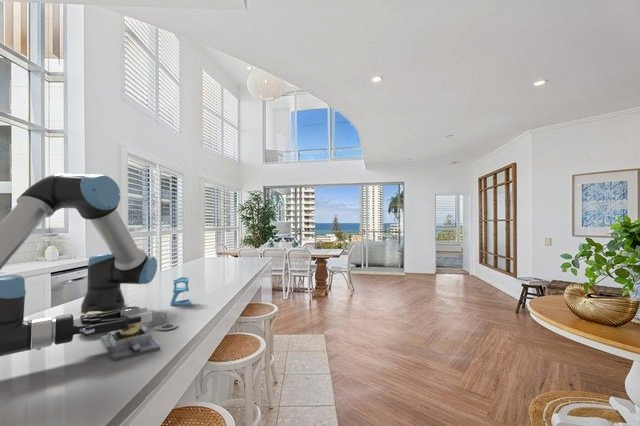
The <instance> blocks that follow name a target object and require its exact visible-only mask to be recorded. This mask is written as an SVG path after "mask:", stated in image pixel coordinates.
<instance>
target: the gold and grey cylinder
mask: <svg viewBox="0 0 640 426" xmlns="http://www.w3.org/2000/svg"><path fill="white" fill-rule="evenodd" d="M122 308H123V309H121V316H120V318H125V317H128V316H130V315H136V314H139V311H140V308H141V307H139V306H126V307H122ZM122 324H123V323H122ZM139 326H140V323H139V324H133V325H128V329H121V330H120V339H124V338H128V337H133V336H138V335H139Z"/></svg>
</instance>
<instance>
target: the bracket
mask: <svg viewBox="0 0 640 426" xmlns="http://www.w3.org/2000/svg"><path fill="white" fill-rule="evenodd" d="M167 321H168V320H167V313H161V314H158V315H155V316H152V321H149V322H148V327H151V328H152V329H153V330H156V331H169V330H173V329H176V328H177V327H178V324H177V323H173V322H167ZM165 322H167V323H165ZM156 325H157V326H156ZM152 326H153V327H152Z"/></svg>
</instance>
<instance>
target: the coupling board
mask: <svg viewBox="0 0 640 426" xmlns="http://www.w3.org/2000/svg"><path fill="white" fill-rule="evenodd" d="M100 340H101V342H102V345H103V346H104V348H105V351H106V352H107V355H108V356H109V358H110V360H111V362H112V363H115V362H119V361H123V360H126V359H131V358H134V357H137V356H141V355H145V354H149V353H154V352H157V351H161V345H159V343H158V342H157V341H156V340H155V339H154V338H153V337H152V336H151V333H150V332H149V331H148V330H147V329H146V328H145V326H143V325H139V335H138V336H133V337H128V338H124V339H120V330H116V331H111V332H108V334H106V335H101V336H100Z"/></svg>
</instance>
